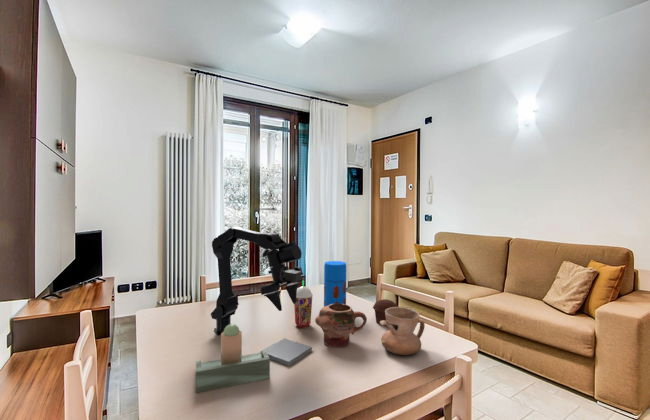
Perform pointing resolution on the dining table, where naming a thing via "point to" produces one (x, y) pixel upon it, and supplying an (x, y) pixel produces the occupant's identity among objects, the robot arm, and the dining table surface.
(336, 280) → the thermos
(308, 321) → the smoothie
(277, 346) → the slate pad
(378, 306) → the muffin
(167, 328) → the dining table surface
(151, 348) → the dining table surface
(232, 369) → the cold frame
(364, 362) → the dining table surface
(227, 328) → the green ice cream cone
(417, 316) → the ceramic jug
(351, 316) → the decorative planter
